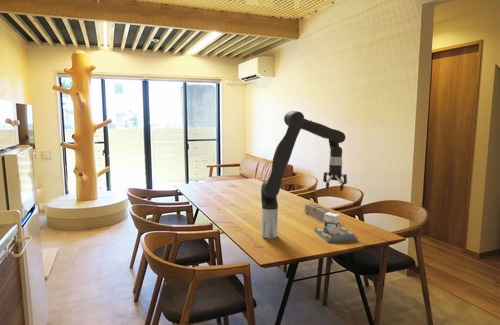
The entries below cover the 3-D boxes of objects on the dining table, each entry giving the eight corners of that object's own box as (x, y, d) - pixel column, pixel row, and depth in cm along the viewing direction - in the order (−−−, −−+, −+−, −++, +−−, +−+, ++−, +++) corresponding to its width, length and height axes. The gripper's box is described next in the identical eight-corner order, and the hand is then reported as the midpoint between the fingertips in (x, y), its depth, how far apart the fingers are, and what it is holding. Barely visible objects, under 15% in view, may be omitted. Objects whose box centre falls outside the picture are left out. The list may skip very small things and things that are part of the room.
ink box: (323, 231, 206) (323, 213, 205) (327, 230, 209) (328, 211, 208) (335, 235, 200) (336, 216, 199) (339, 233, 203) (340, 214, 202)
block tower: (303, 214, 248) (326, 224, 221) (304, 203, 247) (326, 212, 220) (313, 213, 251) (336, 223, 223) (313, 202, 250) (336, 211, 223)
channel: (327, 242, 188) (327, 235, 187) (314, 230, 208) (314, 224, 208) (357, 241, 191) (357, 234, 190) (341, 229, 211) (341, 223, 211)
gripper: (322, 163, 206) (321, 189, 208) (345, 165, 198) (343, 192, 200) (326, 162, 212) (325, 187, 214) (349, 164, 204) (347, 190, 206)
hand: (334, 189), depth 207 cm, fingers open, 8 cm apart
